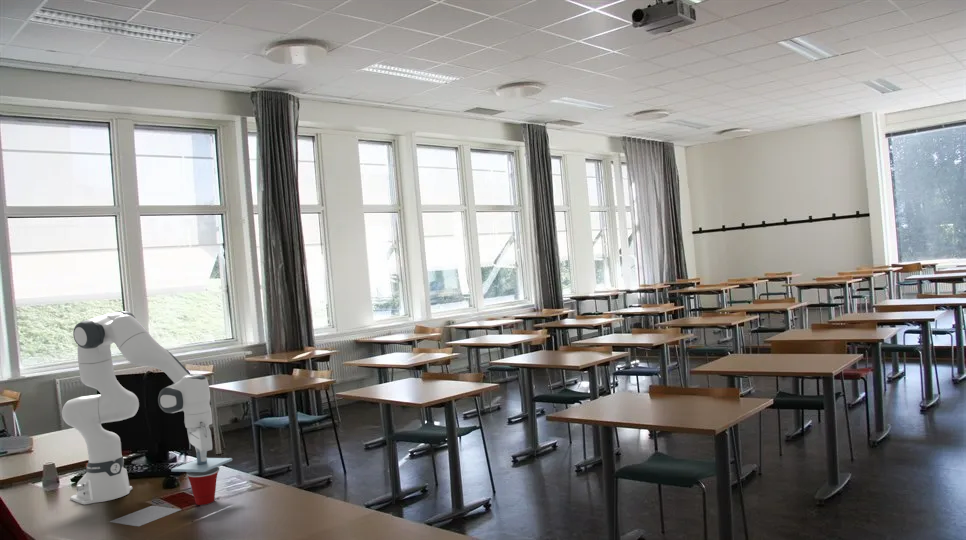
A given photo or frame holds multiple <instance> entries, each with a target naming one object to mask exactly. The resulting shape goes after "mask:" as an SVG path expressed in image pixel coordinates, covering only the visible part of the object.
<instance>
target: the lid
mask: <svg viewBox="0 0 966 540" xmlns="http://www.w3.org/2000/svg"><path fill="white" fill-rule="evenodd" d="M195 453H196V452H195ZM206 459H207V460H206V461H204V462H202V461H200V452H197V453H196V459H194V460H192V461H189V462H186V463H184V464H180V465H178V466H176V467H173V468H171V469H170V470H171V471H170V472H175V473H176V472H179V473H181V472H186V473H187V472H205V471H208V470H210V469H213V468H215V467H220V466H223V465H225V464H228V463H229V462H232V461H233V458H232V457H207V455H206Z"/></svg>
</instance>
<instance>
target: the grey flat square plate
mask: <svg viewBox="0 0 966 540" xmlns="http://www.w3.org/2000/svg"><path fill="white" fill-rule="evenodd" d="M179 511H182V509H181V508H174V507H165V506H157V505H151V506H147V507H145V508H141V509H139V510H136V511H134V512H132V513H128V514H126V515H123V516H121V517H117V518H115V519H112V520H110V521H108V523H114V524H119V525H127V526H132V527H137V528H138V527H141V526H144V525H146V524H149V523H152V522H155V521H156V520H159V519H161V518H164V517H167V516H170V515H172V514H175V513H176V512H179Z"/></svg>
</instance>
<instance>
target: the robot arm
mask: <svg viewBox="0 0 966 540" xmlns="http://www.w3.org/2000/svg"><path fill="white" fill-rule="evenodd" d="M72 335H73V339H74V342H75V343H76V344H77V363H78V364H77V365H78V370H79V379H80V381H81V382H82V384H83V385H85V386H86V387H88V388H92V389H95V390H97V391H98V392H99V393H100V394H99V393H98V394H91V395H83V396H82V395H81V396H78V397H74V398H72V399H69V400H67V401H66V402H65V403H64V405H63V407H62V410H61V417H62V420H63V421H64V423H65V424H66V425H68V426H69V427H71V428H74V429H75V430H76V431H77V432H79V434H80V435H81V436H82V437H83V439H84V442H85V445H86V450H87V458H88V462H87V463H85V467H86V473H84V474H83V476H82V477H81V478H80V479H79V480H78V481H77V483H76V487H75V488H76V489H75V490H76V494H73V495H71V496H70V501H73V502H76V503H78V504H82V505H90V504H95V503H101V502H103V503H104V502H107V501H108V502H109V501H112V500H115V499H118V498H122V497H124V496H126V495H129V494H130V492H131V491H132V490H133V486H132V485H130V481H129V476H128V471H127V470H128V469H126V468H125V467H124V466H125V464H124V463H125V460H124V456H123V455H122V442H121V437H120V436H119V435H118V434H117V433H115V432H113V431H109V430H107V429H105V428H104V427H103V426H102V424H105V423H106V424H107V423H113V422H120V421H123V420H127V419H130V418H133V417H134V416H136V414H137V412H138V410H139V407H140V402H139V401H140V400H139V398H138V396H137V395H136V394H135V393H134V392H133V391H130V390H128V389H126V388H125V387H123V386H122V384H120V382H119V380H117V377H116V373H115V368H114V364H113V356H112V351H111V346H112V344H115V346H116V347H117V349H118V350H119V351H120V353H121V354H122V356H123V357H124V359H126V360H127V361H128V362H129V363H130V364H133V365H135V366H139V367H148V368H155V369H158V370H159V371H162V372H163V373H165V374H166V375H167V377H168V378H169V379H170V380H171V381H172V382H173V383H172V384H171V385H168V386H166V387H163V388H162V389H161V390H160V391H159V394H158V397H157V403H158V406H159V408H160V409H161V410H162V411H163V412H164V413H167V414H175V413H178V412H183V413H184V416H183V417H184V421H183V423H184V426H185V428H186V431H187V437H188V442H189V444H190V445H192V446H193V447H194V448H195V453H197V452H200V461H202V462H204V461H206V460H207V459H206V455H207V453H208V451H212V450H213V439H212V431H211V429H210V425H213V415H212V408H211V405H210V401H211V390H210V384H209V380H208V378H207V377H206V375H204V374H201V373H191V372H190V371H189V370H188V369H187V368H186V367H185V366H184V365H183V363H181V362H180V361H179V359H178V358H176V356H175V355H173V354H172V352H170V351H169V350H167V349H166V348H165V347H164V346H162V345H161V344H160V343H159V342H157V341H156V340H155V339H154V337H153V336H152V335H151V334H150V333H149V331H148V330H147V329H146V328H145V327H144V325H142V323H141V322H140V321H139V320H138V319H137V318H136V317H135V315H134V314H133V313H132V312H130V311H127V310H125V311H124V310H120V311H115V312H109V313H105V314H100V315H98V316H95V317H92V318H89V319H85V320H82V321H80V322H78V323H77V324H75V326H74V327H73V331H72Z"/></svg>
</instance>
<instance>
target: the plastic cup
mask: <svg viewBox="0 0 966 540" xmlns="http://www.w3.org/2000/svg"><path fill="white" fill-rule="evenodd" d="M219 471H220V466H218V467H215V468H213V469H210V470H208V471H205V472H186V476H187V477H188V480H189V483H190V487H191V492H192V494H193V498H194V501H195V504H196V505H197V506H203V505H204V506H206V505H209V504H211V503H214V502H215V499H216V487H217V478H218V473H219Z"/></svg>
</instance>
